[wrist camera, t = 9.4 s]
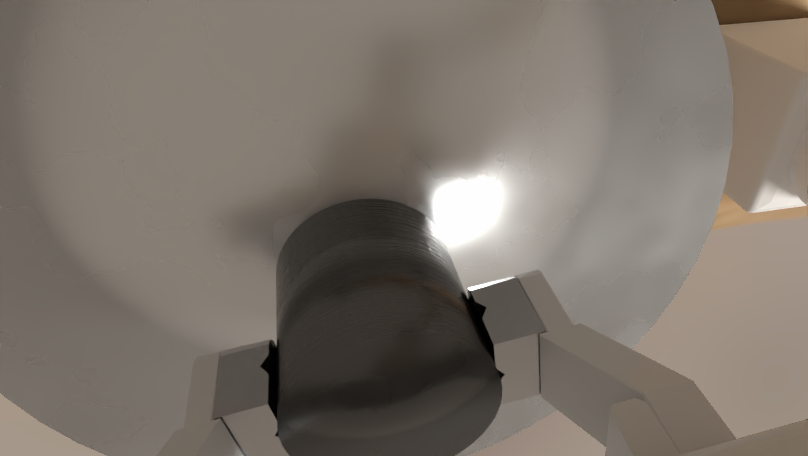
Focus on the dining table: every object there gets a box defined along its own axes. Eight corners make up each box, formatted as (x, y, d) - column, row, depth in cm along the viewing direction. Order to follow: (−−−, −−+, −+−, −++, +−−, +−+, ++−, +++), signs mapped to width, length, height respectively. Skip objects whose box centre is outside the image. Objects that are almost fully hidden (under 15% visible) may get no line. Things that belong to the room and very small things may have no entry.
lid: (-380, -99, 8) (-1075, -15, 4) (788, -312, 9) (1214, -421, 5) (149, 507, 19) (114, 700, 15) (653, 376, 20) (752, 521, 16)
